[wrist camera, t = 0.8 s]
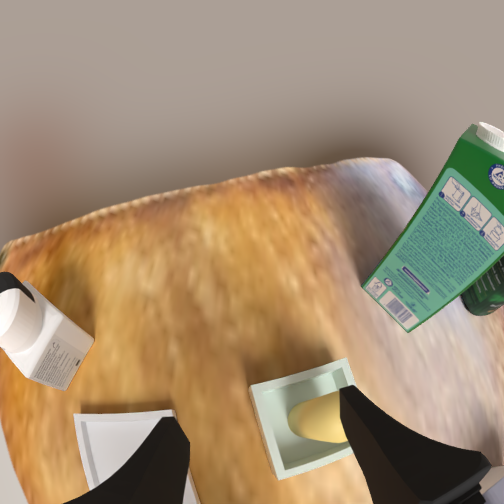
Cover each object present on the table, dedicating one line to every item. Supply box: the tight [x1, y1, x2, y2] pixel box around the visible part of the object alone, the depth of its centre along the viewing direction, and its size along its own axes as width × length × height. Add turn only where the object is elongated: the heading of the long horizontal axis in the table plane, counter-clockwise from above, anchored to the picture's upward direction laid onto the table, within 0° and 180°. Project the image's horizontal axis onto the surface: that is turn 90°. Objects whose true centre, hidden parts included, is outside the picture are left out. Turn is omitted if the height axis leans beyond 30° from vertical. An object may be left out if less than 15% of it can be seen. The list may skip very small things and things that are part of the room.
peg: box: [288, 391, 348, 443], centre depth 19 cm, size 4×4×9 cm
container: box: [0, 272, 94, 391], centre depth 20 cm, size 8×8×13 cm
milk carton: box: [361, 122, 504, 333], centre depth 23 cm, size 9×9×25 cm
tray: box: [73, 409, 201, 504], centre depth 18 cm, size 14×11×2 cm
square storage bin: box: [248, 358, 357, 480], centre depth 22 cm, size 10×10×4 cm
